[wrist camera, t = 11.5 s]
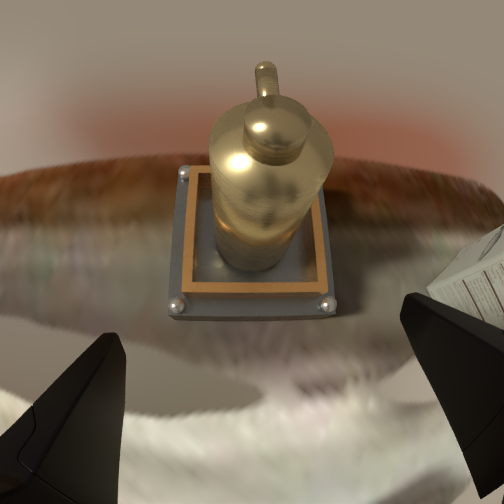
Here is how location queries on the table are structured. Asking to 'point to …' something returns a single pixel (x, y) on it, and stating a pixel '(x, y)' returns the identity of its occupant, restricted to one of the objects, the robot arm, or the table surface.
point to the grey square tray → (240, 281)
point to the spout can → (265, 173)
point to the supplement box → (475, 280)
